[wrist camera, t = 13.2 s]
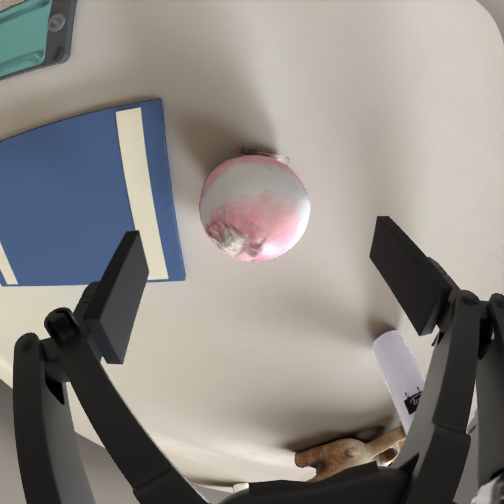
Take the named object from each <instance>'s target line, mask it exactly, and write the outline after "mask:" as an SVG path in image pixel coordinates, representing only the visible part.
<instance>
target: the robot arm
mask: <svg viewBox="0 0 504 504" xmlns="http://www.w3.org/2000/svg"><path fill="white" fill-rule="evenodd" d="M370 259H371V260H372V262H373V263H374V265H375V266H376V268H377V269H378V271H379V272H380V274H381V275H382V277H383V278H384V280H385V281H386V283H387V284H388V286H389V287H390V289H391V290H392V292H393V294H394V295H395V297H396V298H397V300H398V302H399V303H400V305H401V306H402V308H403V310H404V311H405V313H406V315H407V316H408V318H409V320H410V321H411V323H412V325H413V326H414V328H415V330H416V331H417V333H418V335H419V336H423V335H427V334H431V333H432V332H433V330H434V328H435V326H436V324H437V325H438V327H439V329H440V330H439V332H438V334H437V336H436V338H435V340H434V342H433V344H432V345H431V346H434V344H435V347H434V351H433V355H432V359H431V363H430V367H429V371H428V374H427V378H426V381H425V384H424V388H423V391H422V394H421V397H420V400H419V403H418V406H417V409H416V412H415V415H414V418H413V421H412V423H411V426H410V429H409V431H408V434H407V436H406V439H405V441H404V444H403V446H402V448H401V451H400V453H399V454H398V456H397V457H396V459H395V460H394V462H393V463H392V465H391V466H390V467H387V466H378V465H377V462H376V460H375V461H372V462H368V463H365V464H361V465H357V466H353V467H349V468H346V469H344V470H342V471H340V472H338V473H336V474H334V475H332V476H330V477H328V478H325V479H323V480H321V481H318V482H302V481H289V480H276V481H266V482H254V483H248V484H249V488H246V489H243V490H240V491H238V492H235V493H233V494H231V495H230V496H228V497H226V498H225V499H224V500H222V501H221V502H220V503H218V504H457V503H455V502H453V499H454V496H455V493H456V490H457V488H458V485H459V482H460V479H461V475H462V472H463V469H464V466H465V462H466V458H467V455H468V451H469V447H470V442H471V437H470V435H467V434H466V428H467V424H468V419H469V414H470V409H471V404H472V398H473V392H474V385H475V380H476V391H477V405H478V435H479V436H478V437H479V438H478V439H479V440H478V441H479V442H478V487H479V491H478V492H477V495H476V496H475V497H474V498H473V499H472V501H471V504H504V296H503V295H502V294H499V293H494V294H492V295H491V297H490V299H489V301H479V299H478V297H477V296H476V295H475V294H474V293H472V292H470V291H467V290H460V288H459V287H458V286H457V285H456V283H455V282H454V281H453V280H452V279H451V277H450V276H449V275H447V273H446V272H445V270H443V268H442V267H441V266H440V265H439V264H438V262H436V261H435V260H433V259H432V258H430V257H426V256H425V254H424V253H423V252H422V251H421V250H420V249H419V248H418V247H417V246H416V244H415V243H414V242H413V241H412V240H411V239H410V238H409V237H408V236H407V235H406V234H405V233H404V232H403V231H402V229H401V228H400V227H399V226H398V225H397V224H396V223H395V222H394V221H393V220H392V219H391V218H390V217H389V216H377V221H376V226H375V232H374V237H373V242H372V247H371V252H370ZM148 275H149V268H148V264H147V260H146V256H145V252H144V248H143V244H142V240H141V236H140V231H139V230H135V231H126V233H125V234H124V236H123V238H122V240H121V242H120V243H119V245H118V247H117V249H116V251H115V253H114V255H113V256H112V258H111V260H110V262H109V264H108V266H107V268H106V270H105V272H104V274H103V276H102V278H101V280H100V281H93V282H91V283H90V284H89V285H88V286H87V287H86V288H85V290H84V292H83V294H82V297H81V298H80V300H79V303H78V304H77V306H76V308H75V310H74V312H73V313H72V311H71V310H70V309H69V308H65V307H62V308H58V309H55V310H53V311H52V312H50V313H49V314H48V315H47V317H46V318H45V321H44V326H45V328H46V330H47V332H48V333H49V335H50V336H51V338H47V339H43V340H40V339H39V338H38V336H37V335H36V334H35V333H26V334H24V335H22V336H21V337H20V338H19V339H18V340H17V342H16V343H15V347H14V362H13V412H14V427H15V438H16V448H17V455H18V462H19V468H20V474H21V480H22V485H23V489H24V493H25V498H26V502H27V504H96V502H95V499H94V496H93V493H92V491H91V488H90V485H89V482H88V479H87V475H86V472H85V469H84V466H83V463H82V459H81V455H80V451H79V447H78V443H77V440H76V436H75V431H74V426H73V422H72V417H71V412H70V406H69V400H68V394H67V388H66V382H69V381H70V382H71V385H72V387H73V389H74V391H75V393H76V395H77V397H78V399H79V401H80V403H81V405H82V407H83V409H84V411H85V413H86V415H87V417H88V418H89V420H90V422H91V424H92V426H93V428H94V429H95V431H96V433H97V434H98V436H99V438H100V440H101V441H102V443H103V444H104V446H105V448H106V449H107V451H108V453H109V454H110V455H111V457H112V459H113V460H114V462H115V463H116V465H117V466H118V468H119V469H120V470H121V472H122V473H123V475H124V476H125V478H126V479H127V480H128V482H129V483H130V485H131V486H132V488H133V493H134V495H135V497H136V498H137V500H138V501H139V502H140V504H211V503H210V502H209V501H208V500H207V499H206V498H205V497H204V496H203V495H202V494H201V493H200V492H199V491H198V490H197V489H196V488H195V487H194V486H193V485H192V484H191V483H190V482H189V481H188V480H187V479H186V478H185V477H184V476H183V475H182V473H181V472H180V471H179V470H178V469H177V468H176V467H175V466H174V464H173V463H172V462H171V461H170V460H169V459H168V458H167V456H166V455H165V454H164V453H163V452H162V450H161V449H160V448H159V447H158V446H157V444H156V443H155V442H154V441H153V439H152V438H151V437H150V435H149V434H148V433H147V432H146V430H145V429H144V428H143V426H142V425H141V424H140V422H139V421H138V420H137V418H136V417H135V415H134V414H133V413H132V411H131V410H130V408H129V407H128V406H127V404H126V403H125V401H124V400H123V398H122V397H121V395H120V394H119V392H118V391H117V389H116V388H115V386H114V385H113V383H112V381H111V380H110V378H109V377H108V375H107V373H106V372H105V370H104V368H103V367H102V365H101V363H100V361H101V358H102V355H103V357H104V359H105V361H106V362H107V364H123V362H124V358H125V354H126V350H127V346H128V342H129V339H130V335H131V331H132V328H133V324H134V321H135V317H136V314H137V310H138V307H139V304H140V300H141V297H142V294H143V291H144V288H145V284H146V281H147V278H148ZM493 338H494V339H493Z"/></svg>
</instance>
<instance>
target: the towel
mask: <svg viewBox="0 0 504 504" xmlns="http://www.w3.org/2000/svg"><path fill="white" fill-rule="evenodd" d="M135 230H139V231H140V236H141V240H142V244H143V248H144V252H145V256H146V260H147V264H148V268H149V275H148V278H147V281H146V282H167V281H184V280H185V277H186V274H185V269H184V263H183V258H182V252H181V246H180V240H179V234H178V228H177V222H176V215H175V209H174V202H173V195H172V188H171V180H170V172H169V164H168V156H167V147H166V138H165V128H164V117H163V106H162V99H156V100H150V101H144V102H138V103H132V104H127V105H122V106H117V107H112V108H108V109H103V110H99V111H95V112H91V113H87V114H83V115H79V116H75V117H71V118H68V119H64V120H61V121H58V122H54V123H51V124H48V125H45V126H42V127H39V128H36V129H33V130H30V131H27V132H24V133H22V134H19V135H16V136H14V137H11V138H8V139H6V140H3V141H1V142H0V283H1V285H2V286H59V285H89V284H90V283H91V282H93V281H100V280H101V278H102V276H103V274H104V272H105V270H106V268H107V266H108V264H109V262H110V260H111V258H112V256H113V255H114V253H115V251H116V249H117V247H118V245H119V243H120V242H121V240H122V238H123V236H124V234H125V233H126V231H135Z"/></svg>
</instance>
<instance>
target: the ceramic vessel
mask: <svg viewBox="0 0 504 504" xmlns="http://www.w3.org/2000/svg"><path fill="white" fill-rule="evenodd" d="M405 439H406V434H405V431H404V429H403V426H402V425H401V426H400V427H398V428H397V429H395V430H393V431H391V432H389V433H387V434H385V435H383V436H381V437H379V438H377V439H375V440H373V441H371V442H369V443H363V442H361V441H358V440H356V439H339V440H336V441H334V442H331V443H328V444H325V445H321V446H317V447H313V448H310V449H308V450H305V451H302V452H299V453H296V454H295V464H296V465H297V466H298V467H301V468H304V467H307V466H309V467H313V468H316V474H317V475H316V476H315V477H314V478H312V479H310V480H308V481H306V482H318V481H321V480H323V479H325V478H328V477H330V476H332V475H334V474H336V473H338V472H340V471H342V470H344V469H346V468H349V467H353V466H357V465H361V464H365V463H368V462H372V461H375V460H376V462H377V465H378V466H388V464H389V463H391V462H393V461H394V460H395V459H396V457H397V456H398V454H399V453H400V451H401V448H402V446H403V444H404V441H405Z"/></svg>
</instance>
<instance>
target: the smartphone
mask: <svg viewBox="0 0 504 504" xmlns="http://www.w3.org/2000/svg"><path fill="white" fill-rule="evenodd" d="M76 3H77V0H26V1H24V2H21V3H19V4H17V5H15V6H11V7H9V8H7V9H5V10H3V11H1V12H0V81H1V80H4V79H6V78H9V77H12V76H16V75H19V74H22V73H25V72H29V71H32V70H36V69H39V68H43V67H47V66H51V65H55V64H60V63H64V62H65V61H67V60H68V58H69V56H70V50H71V39H72V31H73V23H74V16H75V9H76Z"/></svg>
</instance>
